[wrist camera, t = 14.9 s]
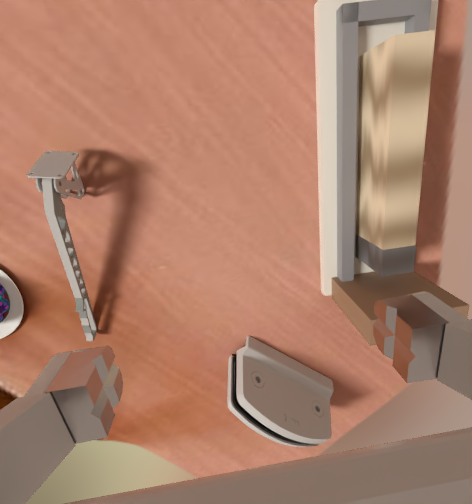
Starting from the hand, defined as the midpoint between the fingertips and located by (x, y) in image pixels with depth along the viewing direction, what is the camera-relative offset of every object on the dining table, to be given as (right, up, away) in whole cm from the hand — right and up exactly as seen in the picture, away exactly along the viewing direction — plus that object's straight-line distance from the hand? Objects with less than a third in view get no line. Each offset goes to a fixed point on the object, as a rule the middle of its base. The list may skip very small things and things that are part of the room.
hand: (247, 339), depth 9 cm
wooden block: (+15, +13, +25) cm, 32 cm away
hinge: (+6, -16, +36) cm, 40 cm away
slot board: (+15, +13, +26) cm, 33 cm away
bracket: (-19, +3, +27) cm, 33 cm away
